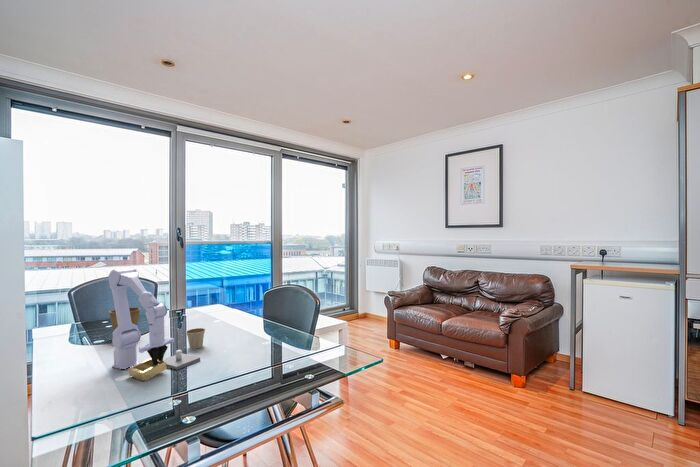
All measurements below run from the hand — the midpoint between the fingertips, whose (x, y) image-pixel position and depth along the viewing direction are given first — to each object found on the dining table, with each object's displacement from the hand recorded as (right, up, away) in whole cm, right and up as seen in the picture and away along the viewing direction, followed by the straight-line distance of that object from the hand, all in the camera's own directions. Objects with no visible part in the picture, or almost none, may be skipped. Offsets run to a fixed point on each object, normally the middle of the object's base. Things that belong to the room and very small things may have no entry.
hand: (157, 364), depth 149 cm
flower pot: (+3, -3, +31) cm, 32 cm away
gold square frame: (-2, -2, -4) cm, 5 cm away
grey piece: (+4, -3, +10) cm, 11 cm away
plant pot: (-47, -4, +51) cm, 69 cm away
